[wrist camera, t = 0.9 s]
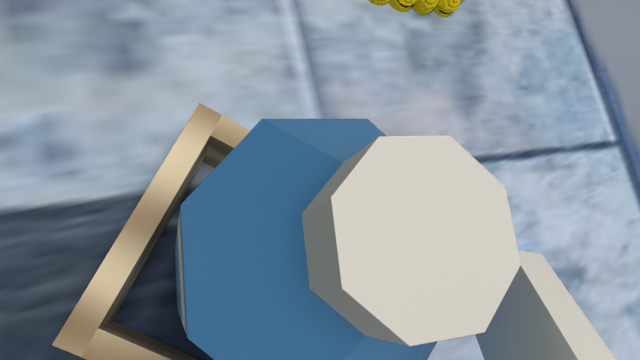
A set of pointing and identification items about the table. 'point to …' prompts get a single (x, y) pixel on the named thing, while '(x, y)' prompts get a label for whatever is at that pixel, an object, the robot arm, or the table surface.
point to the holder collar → (145, 247)
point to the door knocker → (422, 5)
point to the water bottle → (341, 245)
